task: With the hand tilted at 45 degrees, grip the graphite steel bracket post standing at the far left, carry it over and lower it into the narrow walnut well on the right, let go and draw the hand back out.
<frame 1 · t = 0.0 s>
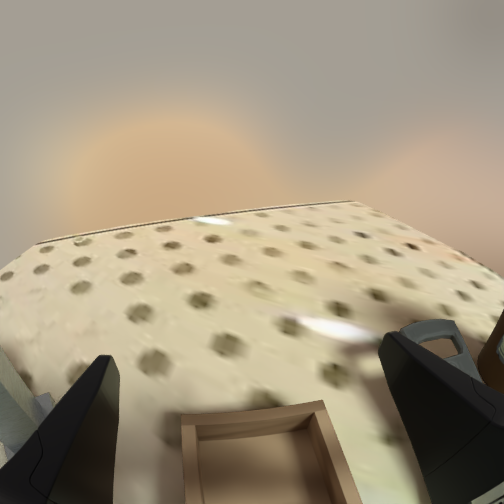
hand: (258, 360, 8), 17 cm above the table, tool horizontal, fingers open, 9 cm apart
olive oil: (500, 372, 24), on the table
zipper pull: (446, 449, 17), on the table
bracket post: (34, 436, 16), on the table
well: (263, 486, 16), on the table
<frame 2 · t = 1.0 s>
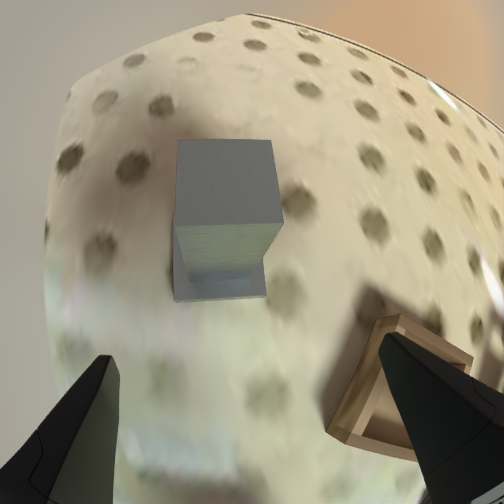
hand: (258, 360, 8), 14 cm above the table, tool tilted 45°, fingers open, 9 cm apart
bracket post: (217, 257, 24), on the table
well: (397, 394, 22), on the table
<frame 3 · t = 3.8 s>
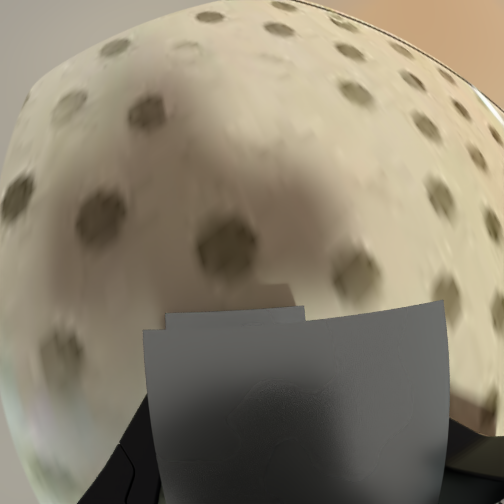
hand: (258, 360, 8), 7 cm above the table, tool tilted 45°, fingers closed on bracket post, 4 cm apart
bracket post: (239, 377, 14), on the table, touching gripper
when the fingers open (9 cm above the table, at t = 7.8 s): bracket post drops 1 cm, resting on well.
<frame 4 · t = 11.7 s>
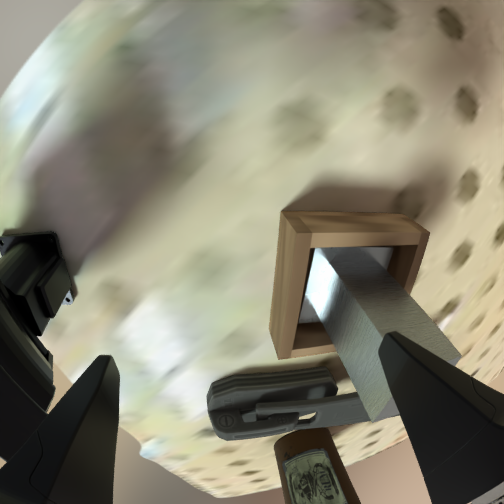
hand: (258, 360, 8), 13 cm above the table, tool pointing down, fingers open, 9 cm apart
olive oil: (301, 438, 40), on the table
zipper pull: (312, 383, 32), on the table
bracket post: (341, 278, 23), point 1 cm above the table, touching well
well: (337, 273, 24), on the table
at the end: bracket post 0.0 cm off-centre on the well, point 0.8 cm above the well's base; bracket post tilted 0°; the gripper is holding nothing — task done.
